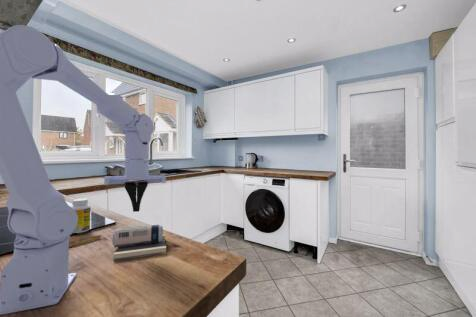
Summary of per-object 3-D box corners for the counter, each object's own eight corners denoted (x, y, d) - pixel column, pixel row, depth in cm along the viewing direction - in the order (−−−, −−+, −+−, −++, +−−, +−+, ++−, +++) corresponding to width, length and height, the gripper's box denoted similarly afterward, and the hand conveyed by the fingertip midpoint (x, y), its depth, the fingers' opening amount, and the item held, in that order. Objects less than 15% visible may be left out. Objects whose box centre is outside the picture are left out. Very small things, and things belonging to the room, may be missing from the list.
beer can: (112, 252, 54) (162, 245, 58) (111, 234, 53) (162, 229, 57) (115, 241, 59) (162, 236, 63) (115, 225, 58) (162, 221, 62)
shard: (101, 240, 63) (102, 234, 63) (87, 251, 56) (87, 244, 56) (61, 241, 62) (61, 235, 62) (41, 253, 54) (41, 246, 54)
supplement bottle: (85, 233, 67) (85, 201, 67) (65, 234, 66) (65, 201, 66) (93, 228, 73) (93, 197, 73) (74, 229, 71) (74, 198, 72)
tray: (166, 253, 54) (166, 247, 54) (113, 260, 50) (113, 254, 50) (164, 239, 63) (164, 234, 63) (119, 244, 59) (119, 239, 59)
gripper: (165, 159, 63) (164, 205, 63) (108, 159, 58) (108, 209, 58) (166, 159, 57) (165, 211, 57) (102, 159, 51) (101, 215, 51)
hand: (136, 210), depth 57 cm, fingers closed
